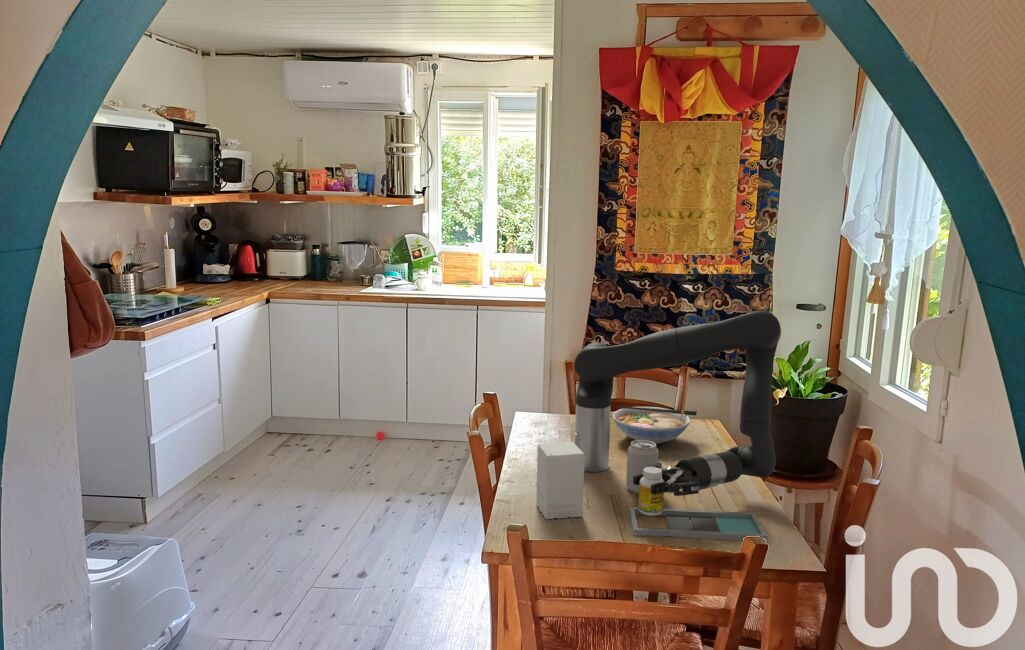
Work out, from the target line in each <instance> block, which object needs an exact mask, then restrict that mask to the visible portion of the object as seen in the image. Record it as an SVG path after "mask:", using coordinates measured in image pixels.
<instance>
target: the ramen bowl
mask: <svg viewBox="0 0 1025 650" xmlns="http://www.w3.org/2000/svg"><path fill="white" fill-rule="evenodd" d="M612 408H620V409H618V410H616V411H614V412H612V418H613V421H614V423H615V424H616V426H617V428H618V429H619V430H620V431H621V433H624V434H625V436H628V438H630V439H632V440H634V441H635V440H647V441H651V442H654V443H655V444H656V445H658V444H660V445H661V444H663V443H665V442H669V441H672V440H674V439H677V438H678V437H679V436H680V435H681V434H682V433H683V432H684V431H685V430H686V429H687V428H688V426H689V425H690V423H691V419H690V418H691V417H690V416H697V410H679V409H669V408H663V407H656V406H617V405H613V406H612ZM688 415H689V416H688Z"/></svg>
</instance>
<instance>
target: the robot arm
mask: <svg viewBox="0 0 1025 650" xmlns="http://www.w3.org/2000/svg"><path fill="white" fill-rule="evenodd" d="M781 335H782V328H781V323H780V321H779V319H778V318H777V316H775V314H773V313H772V312H770V311H767V310H760V309H759V310H754V311H750V312H747V313H745V314H741V315H737V316H735V317H731V318H728V319H724V320H720V321H715V322H707V323H700V324H693V325H686V326H679V327H674V328H669V329H665V330H661V331H658V332H654V333H651V334H647V335H645V336H642V337H640V338H637V339H634V340H632V341H630V342H627V343H622V344H618V345H617V344H616V345H610V346H609V345H608V346H607V344H605V343H602V342H597V341H596V342H592V343H589V344H587V345H586V346H584V347H583V348H582V349H581V350H579V352H578V353H577V355H576V357H575V358H574V362H573V368H574V372H575V373H576V375H577V376H578V385H577V390H576V394H575V422H574V424H575V425H574V444H575V445H576V446H577V447H578V448H579V449H580V450H581V451H582V452H583V453H584V454H585V460H584V472H589V473H591V472H594V473H595V472H596V473H598V472H604V471H606V470H608V469H609V467H610V465H609V462H610V439H611V437H610V435H611V432H610V431H611V414H612V413H611V410H612V409H611V408H612V396H613V390H614V376H616V377H617V376H619V375H622V374H626V373H630V372H631V373H632V372H638V371H648V370H654V369H656V370H657V369H662V368H668V367H669V368H670V367H676V366H681V365H686V364H689V363H694V362H697V361H699V360H703V359H705V358H708V357H711V356H713V355H716V354H719V353H721V352H727V351H735V350H741V349H744V350H745V360H746V361H745V365H746V366H745V376H744V382H743V389H742V396H741V401H740V417H739V431H740V433H741V434H743V435H744V436H746V437H747V436H748V437H749V439H750V442H751V445H737V446H733V447H731V448H729V449H726V450H725V451H720V452H717V453H709V454H708V453H707V454H701V455H697V456H696V455H695V456H691V457H686V458H682V459H679V461H678V462H677V463H676V465H674V466H666V467H664V466H663V464H662V463H661V462H658V463H655V464H652V465H649V466H647V467H656V468H659V469H661V470H662V476H661V478H662V479H663V481H664V482H660V483H656V484H652V485H651V491H650V493H651V494H653V495H656V494H660V493H664V494H665V493H666V494H672V493H673V496H676V497H679V496H680V497H681V496H688V495H697V494H699V493H700V491H702V490H706V489H711V488H715V487H717V486H719V485H723V484H727V483H731V482H732V483H733V482H734V481H737V480H738V479H739V478H740V477H741V476H748V477H755V478H762V479H763V478H764V479H765V478H768V477H770V475H772V473H773V472H774V470H775V467H776V463H777V461H776V452H775V447H774V441H773V437H772V432H771V424H772V423H771V422H772V421H771V419H772V406H773V405H772V401H773V400H772V398H773V397H772V391H773V390H772V389H773V388H772V386H773V385H772V384H773V381H772V380H773V368H774V362H775V356H776V352H777V349H778V343H779V341H780V338H781ZM644 468H646V467H644ZM644 468H643V469H644ZM642 477H644V476H643V473H641V474H636V475H634V476H633V484H635V485H640V479H641V478H642Z"/></svg>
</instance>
